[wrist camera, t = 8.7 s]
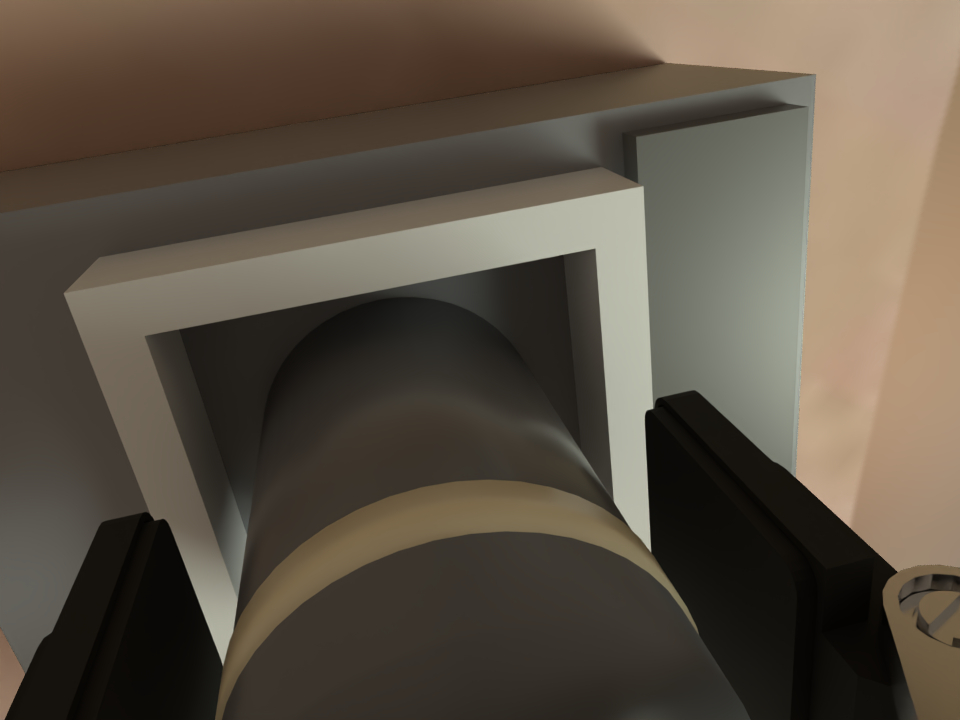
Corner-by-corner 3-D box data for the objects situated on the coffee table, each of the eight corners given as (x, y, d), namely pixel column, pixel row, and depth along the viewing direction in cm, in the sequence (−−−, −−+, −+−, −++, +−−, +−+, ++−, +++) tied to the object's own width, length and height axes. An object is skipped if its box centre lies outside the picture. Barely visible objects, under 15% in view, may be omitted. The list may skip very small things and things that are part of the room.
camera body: (124, 545, 20) (23, 813, 13) (-30, 177, 16) (-297, 286, 9) (677, 420, 22) (842, 595, 15) (667, 63, 18) (889, 79, 11)
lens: (226, 326, 12) (100, 723, 5) (522, 268, 13) (774, 552, 6) (299, 567, 15) (279, 1086, 7) (550, 507, 15) (760, 931, 8)
